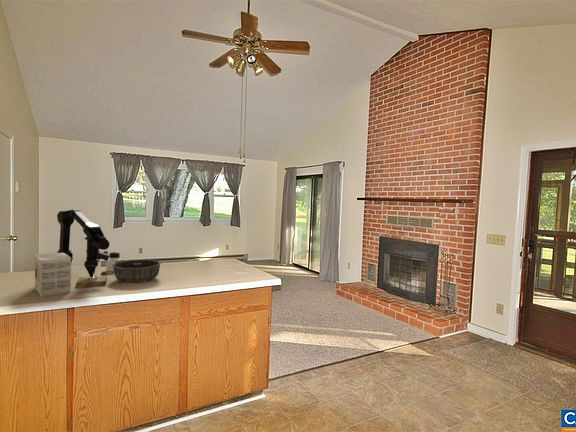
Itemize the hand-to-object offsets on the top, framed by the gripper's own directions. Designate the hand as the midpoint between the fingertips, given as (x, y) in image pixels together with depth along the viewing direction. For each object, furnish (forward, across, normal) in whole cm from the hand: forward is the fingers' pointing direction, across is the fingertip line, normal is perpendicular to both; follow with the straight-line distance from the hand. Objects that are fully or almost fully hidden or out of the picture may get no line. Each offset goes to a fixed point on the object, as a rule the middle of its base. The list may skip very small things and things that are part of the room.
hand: (92, 275), depth 190 cm
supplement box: (+5, -10, +17) cm, 20 cm away
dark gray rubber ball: (+3, +14, -5) cm, 15 cm away
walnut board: (+4, 0, 0) cm, 4 cm away
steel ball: (+3, 0, 0) cm, 3 cm away
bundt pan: (+5, +2, -23) cm, 24 cm away
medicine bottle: (+5, +32, -10) cm, 34 cm away
